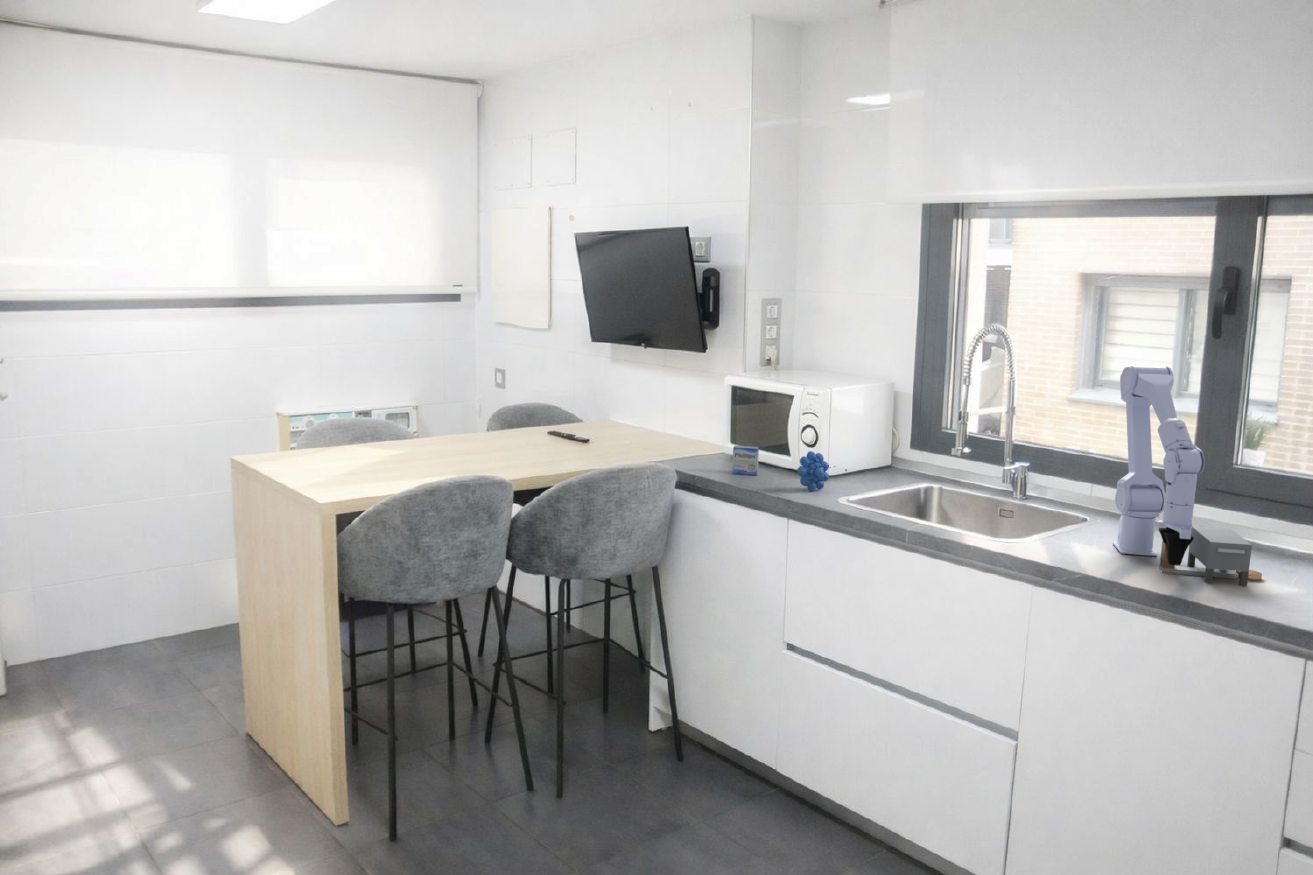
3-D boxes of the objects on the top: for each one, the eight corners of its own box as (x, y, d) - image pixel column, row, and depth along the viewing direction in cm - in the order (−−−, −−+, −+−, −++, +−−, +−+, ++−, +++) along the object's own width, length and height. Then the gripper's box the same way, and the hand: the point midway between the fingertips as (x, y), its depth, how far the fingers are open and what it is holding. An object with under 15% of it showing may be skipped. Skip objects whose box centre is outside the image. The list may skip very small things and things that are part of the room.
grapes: (806, 496, 294) (809, 454, 292) (791, 491, 300) (793, 451, 298) (837, 492, 301) (839, 451, 299) (821, 487, 306) (823, 448, 304)
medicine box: (731, 474, 323) (732, 447, 321) (733, 471, 327) (734, 444, 326) (757, 475, 322) (758, 448, 320) (758, 473, 326) (759, 446, 325)
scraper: (1158, 568, 229) (1162, 540, 228) (1233, 574, 226) (1236, 546, 225) (1162, 572, 227) (1165, 544, 225) (1237, 578, 223) (1241, 549, 222)
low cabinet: (1187, 564, 233) (1191, 526, 232) (1225, 567, 232) (1230, 528, 230) (1207, 583, 219) (1211, 542, 217) (1248, 587, 217) (1253, 545, 216)
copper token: (1231, 574, 227) (1232, 568, 227) (1256, 576, 226) (1257, 570, 226) (1239, 581, 223) (1240, 574, 222) (1264, 583, 222) (1265, 576, 221)
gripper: (1151, 494, 233) (1145, 552, 235) (1168, 508, 219) (1161, 570, 221) (1185, 496, 231) (1178, 555, 234) (1204, 511, 217) (1197, 573, 220)
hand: (1172, 562), depth 227 cm, fingers closed on scraper, 2 cm apart
